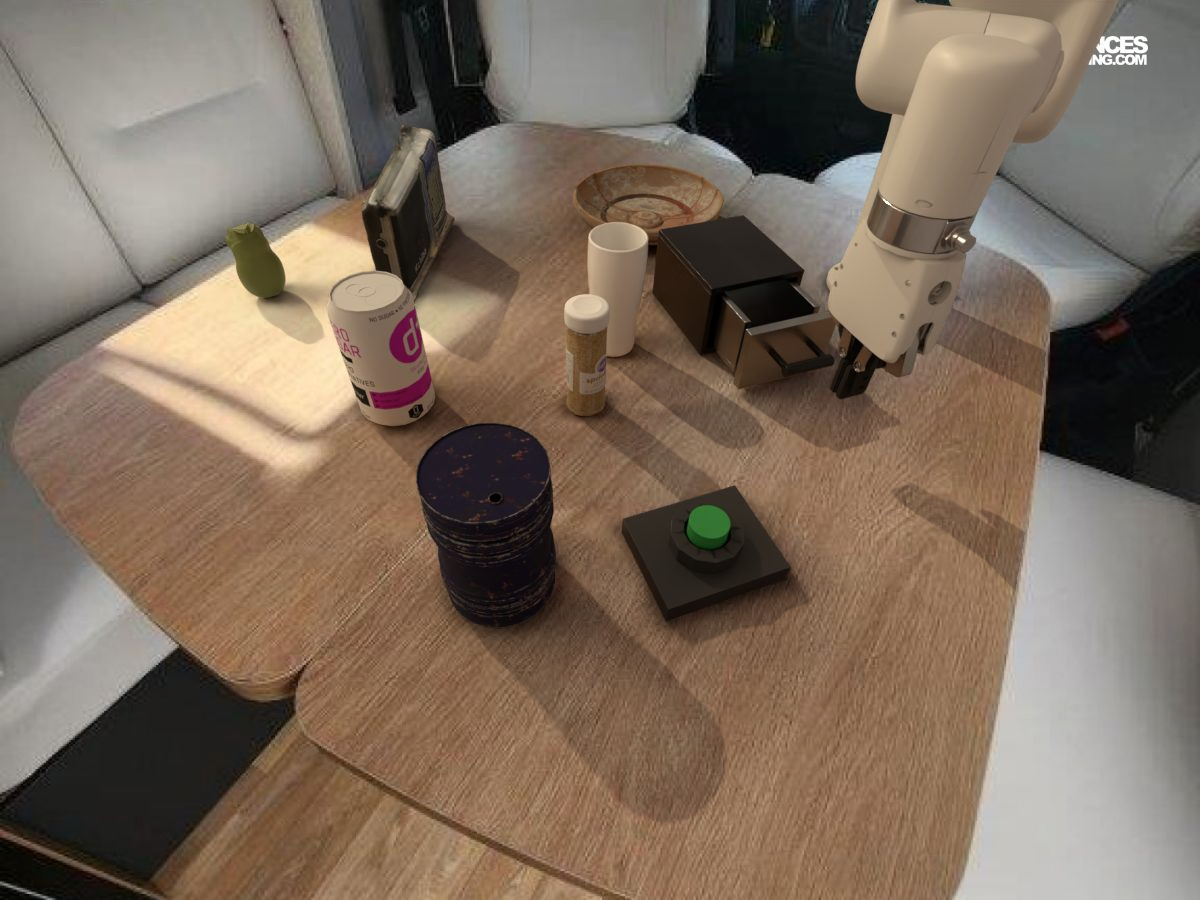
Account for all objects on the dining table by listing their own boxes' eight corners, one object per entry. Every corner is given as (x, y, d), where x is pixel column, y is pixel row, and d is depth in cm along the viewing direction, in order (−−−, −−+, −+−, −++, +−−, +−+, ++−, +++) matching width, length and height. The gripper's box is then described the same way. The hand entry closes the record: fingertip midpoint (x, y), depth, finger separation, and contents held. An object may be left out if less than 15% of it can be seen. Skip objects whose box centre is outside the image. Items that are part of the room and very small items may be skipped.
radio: (411, 306, 84) (386, 198, 73) (350, 298, 85) (317, 190, 74) (468, 224, 100) (454, 125, 89) (416, 218, 101) (397, 119, 90)
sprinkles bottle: (598, 421, 70) (602, 322, 60) (560, 412, 71) (557, 313, 61) (610, 395, 73) (615, 297, 63) (573, 387, 74) (572, 288, 64)
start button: (715, 512, 57) (718, 500, 56) (734, 543, 55) (738, 531, 54) (679, 523, 56) (682, 511, 55) (698, 555, 54) (701, 543, 53)
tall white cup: (634, 366, 77) (644, 255, 66) (581, 358, 78) (581, 247, 67) (643, 334, 81) (653, 225, 70) (592, 326, 82) (594, 218, 71)
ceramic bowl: (625, 179, 113) (627, 150, 109) (743, 218, 104) (749, 189, 100) (544, 228, 100) (542, 198, 96) (670, 278, 91) (674, 247, 87)
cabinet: (785, 335, 82) (805, 270, 75) (700, 355, 79) (712, 288, 72) (730, 277, 91) (743, 214, 84) (652, 293, 88) (658, 229, 81)
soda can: (448, 390, 73) (426, 276, 62) (412, 437, 68) (379, 323, 57) (388, 374, 75) (355, 261, 64) (347, 419, 69) (303, 304, 58)
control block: (731, 498, 63) (738, 472, 60) (785, 580, 57) (796, 555, 54) (621, 532, 60) (623, 506, 57) (665, 622, 54) (670, 598, 51)
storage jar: (434, 552, 58) (401, 441, 47) (535, 520, 61) (526, 407, 50) (462, 646, 52) (432, 543, 41) (573, 605, 55) (572, 499, 44)
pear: (256, 310, 83) (225, 240, 75) (241, 292, 85) (210, 223, 78) (298, 295, 85) (271, 226, 78) (282, 278, 88) (255, 210, 81)
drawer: (841, 391, 73) (863, 337, 68) (757, 413, 70) (772, 359, 65) (761, 308, 85) (775, 255, 79) (686, 324, 82) (694, 271, 76)
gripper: (1027, 258, 47) (926, 432, 60) (894, 176, 56) (833, 342, 69) (948, 275, 45) (862, 451, 58) (824, 187, 54) (775, 356, 67)
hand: (846, 391), depth 64 cm, fingers closed
